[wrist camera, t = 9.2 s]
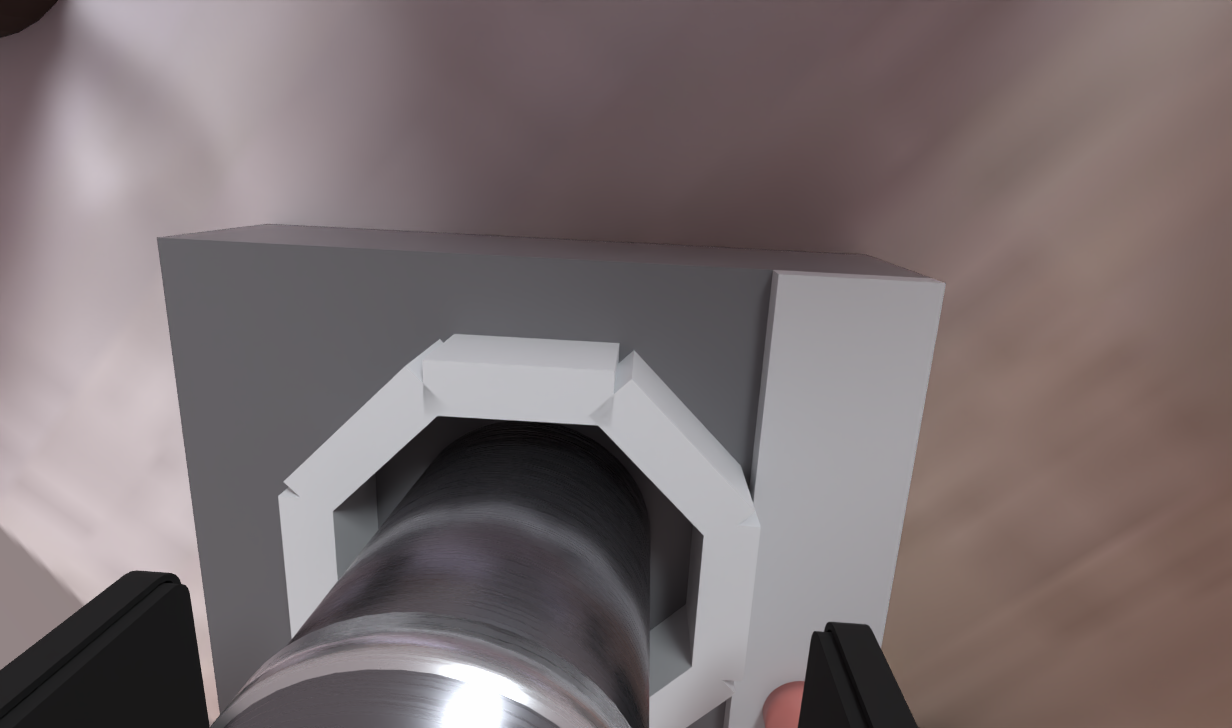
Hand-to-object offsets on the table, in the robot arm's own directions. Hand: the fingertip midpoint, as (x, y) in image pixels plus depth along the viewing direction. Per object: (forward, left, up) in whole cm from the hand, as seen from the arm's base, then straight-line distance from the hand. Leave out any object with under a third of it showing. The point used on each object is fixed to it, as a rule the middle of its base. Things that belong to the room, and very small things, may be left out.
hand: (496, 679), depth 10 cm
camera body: (0, 0, -9) cm, 9 cm away
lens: (0, 0, -5) cm, 5 cm away
